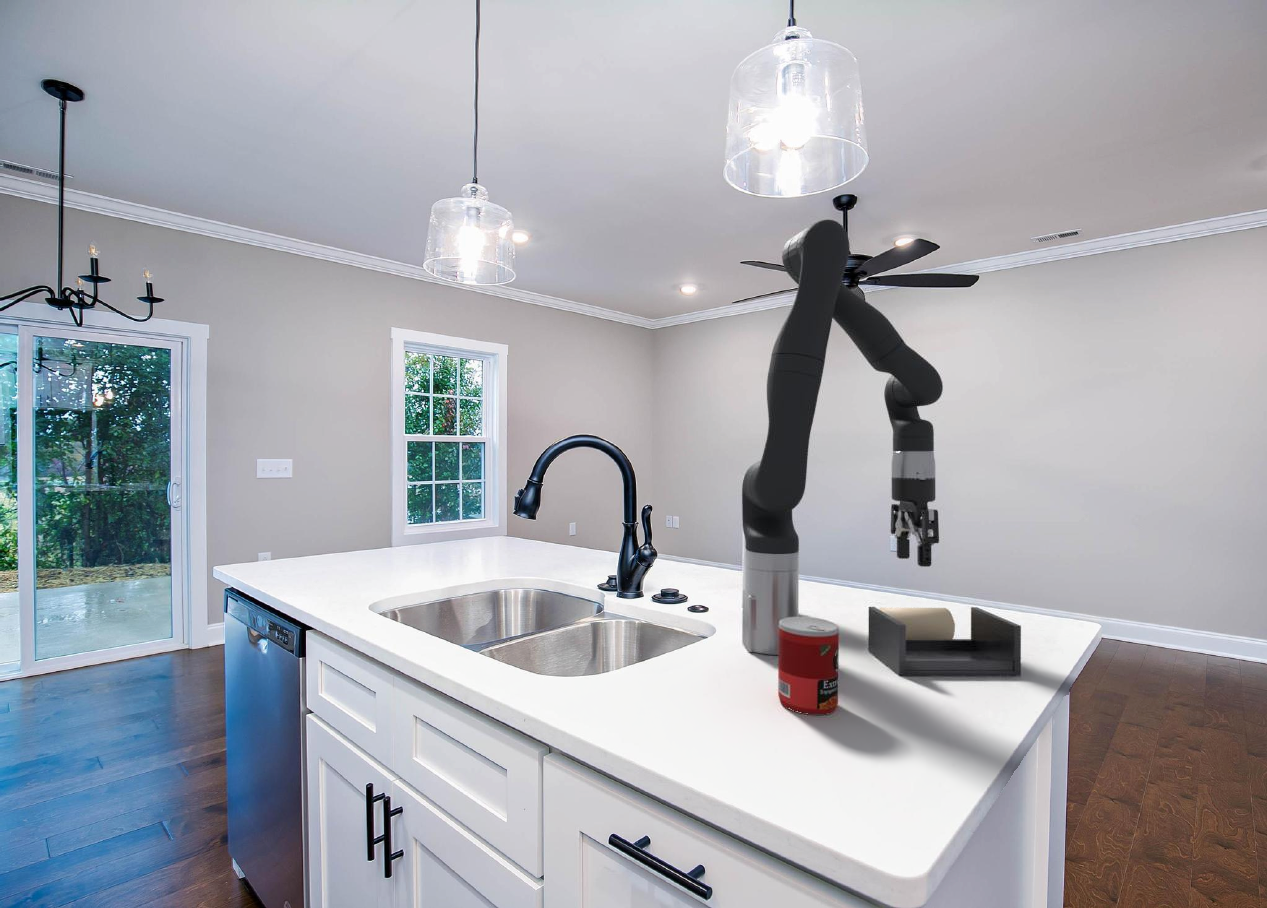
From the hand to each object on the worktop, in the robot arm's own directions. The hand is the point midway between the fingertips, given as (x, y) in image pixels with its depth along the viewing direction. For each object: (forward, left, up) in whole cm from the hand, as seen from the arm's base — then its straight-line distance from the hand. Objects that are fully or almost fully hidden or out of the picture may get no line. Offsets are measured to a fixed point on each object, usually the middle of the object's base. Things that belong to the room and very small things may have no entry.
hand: (913, 562), depth 116 cm
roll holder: (-2, -14, -14) cm, 20 cm away
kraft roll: (0, 0, -14) cm, 14 cm away
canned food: (-29, -31, -15) cm, 45 cm away
